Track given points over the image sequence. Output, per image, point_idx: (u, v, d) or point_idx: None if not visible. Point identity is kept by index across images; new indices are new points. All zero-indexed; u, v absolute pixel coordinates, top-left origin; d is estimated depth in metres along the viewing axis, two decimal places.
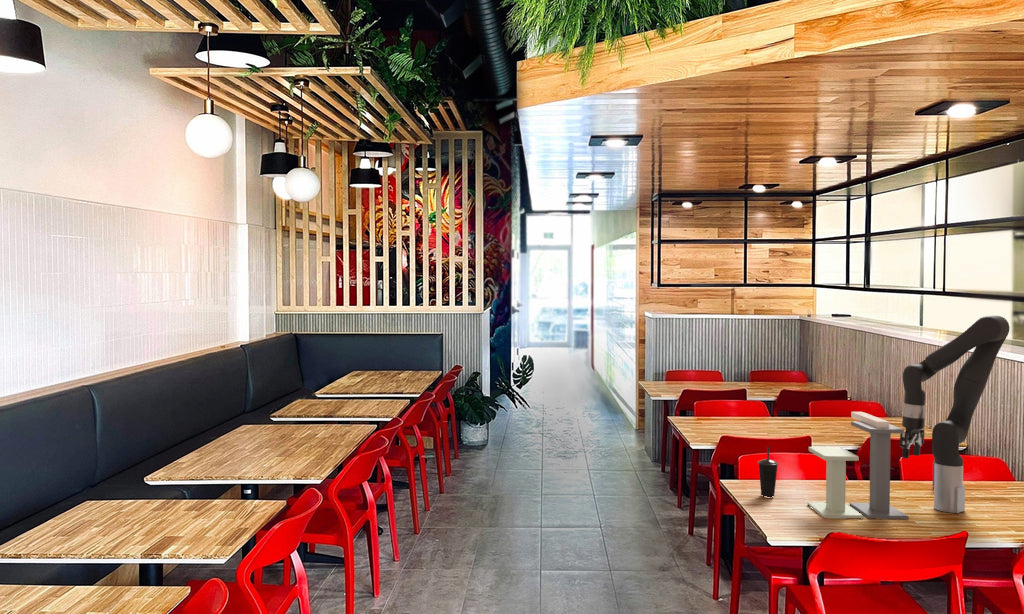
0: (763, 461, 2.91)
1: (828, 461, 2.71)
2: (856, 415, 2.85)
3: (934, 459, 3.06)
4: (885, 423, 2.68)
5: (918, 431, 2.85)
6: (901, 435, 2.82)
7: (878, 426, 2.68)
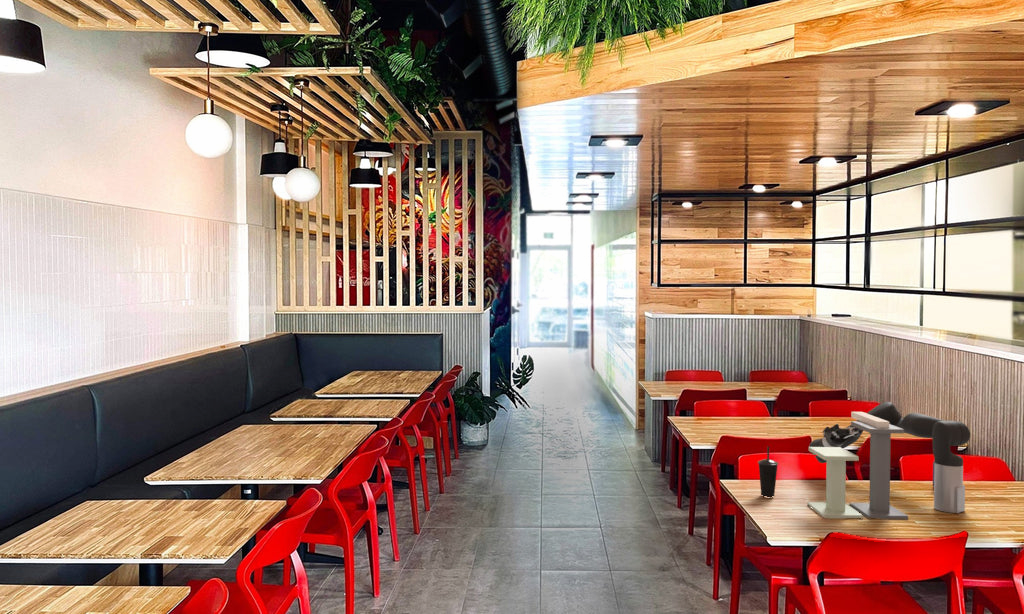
0: (763, 461, 2.91)
1: (828, 461, 2.71)
2: (856, 415, 2.85)
3: (934, 459, 3.06)
4: (885, 423, 2.68)
5: None
6: (824, 434, 3.05)
7: (878, 426, 2.68)
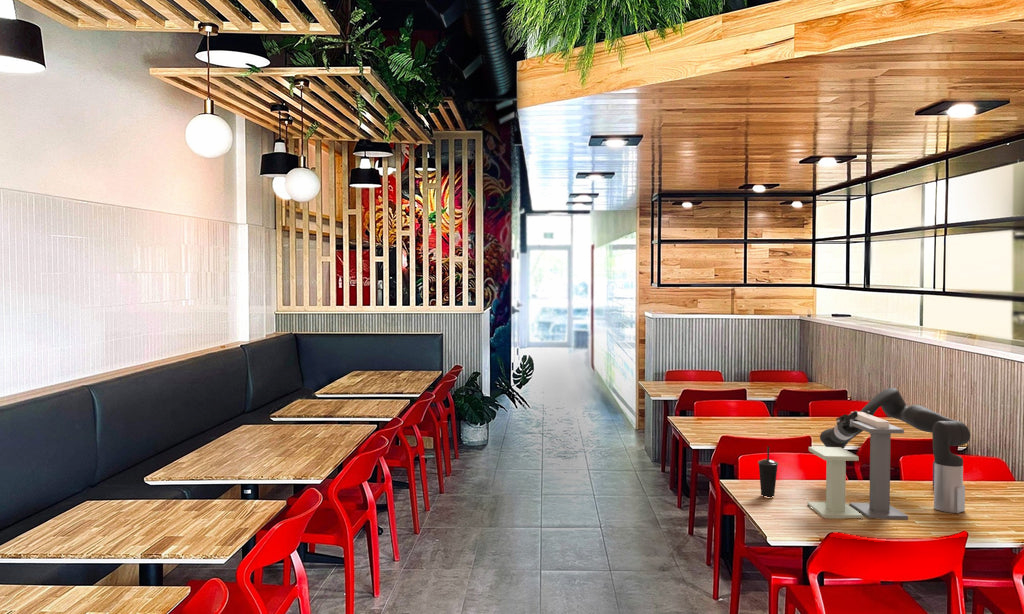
0: (763, 461, 2.91)
1: (828, 461, 2.71)
2: None
3: (934, 459, 3.06)
4: (885, 423, 2.68)
5: None
6: (838, 422, 2.92)
7: (878, 426, 2.68)
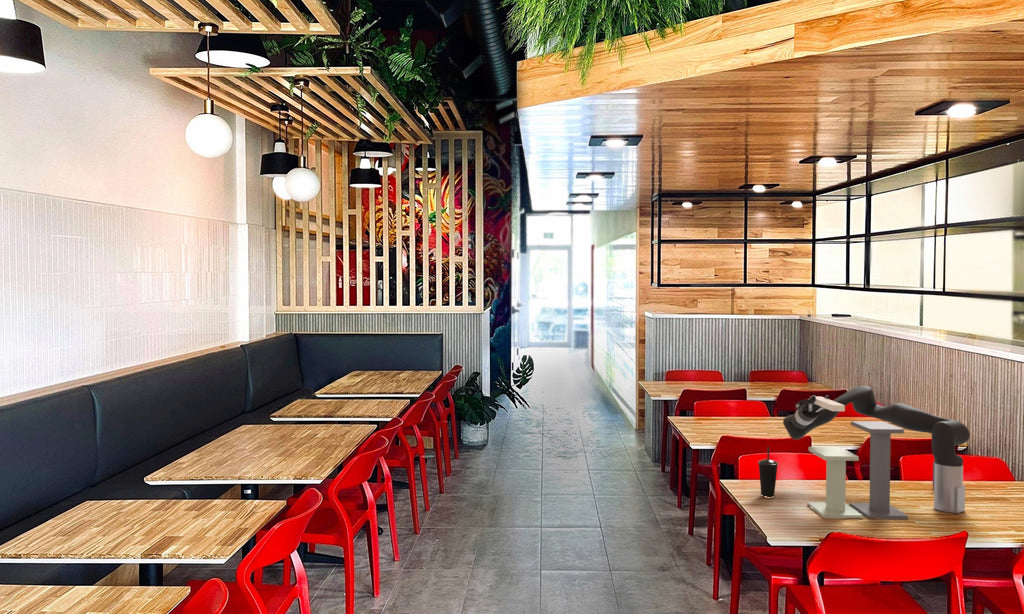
0: (763, 461, 2.91)
1: (828, 461, 2.71)
2: None
3: (934, 459, 3.06)
4: (840, 407, 2.68)
5: None
6: (797, 407, 2.92)
7: (833, 410, 2.68)
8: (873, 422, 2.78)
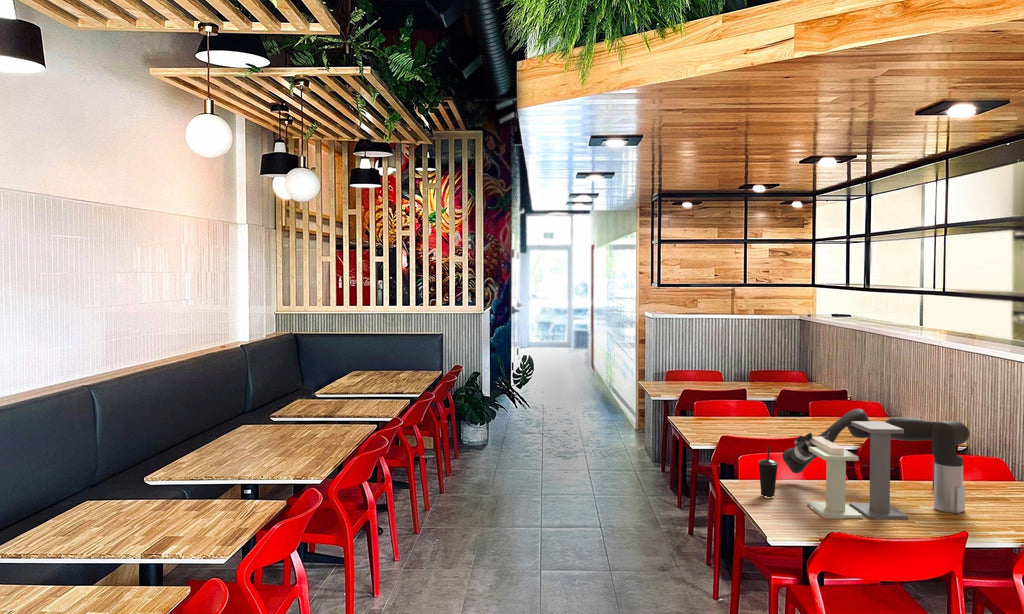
0: (763, 461, 2.91)
1: (828, 461, 2.71)
2: (814, 440, 2.86)
3: (934, 459, 3.06)
4: (840, 450, 2.69)
5: None
6: (796, 444, 2.93)
7: (833, 453, 2.69)
8: (873, 422, 2.78)
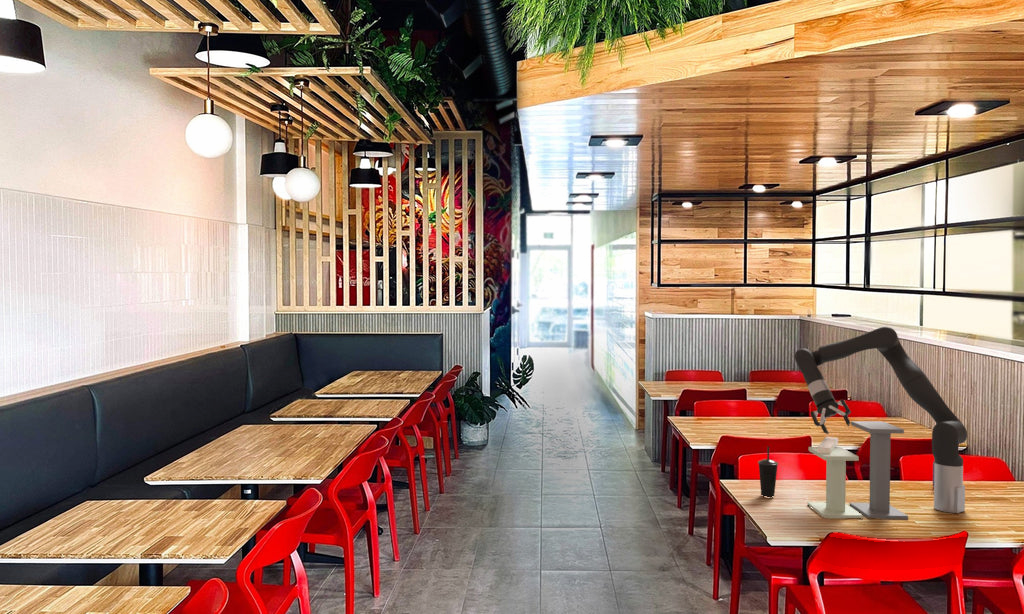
0: (763, 461, 2.91)
1: (828, 461, 2.71)
2: None
3: (934, 459, 3.06)
4: (826, 449, 2.70)
5: (832, 404, 2.94)
6: None
7: (818, 451, 2.71)
8: (873, 422, 2.78)
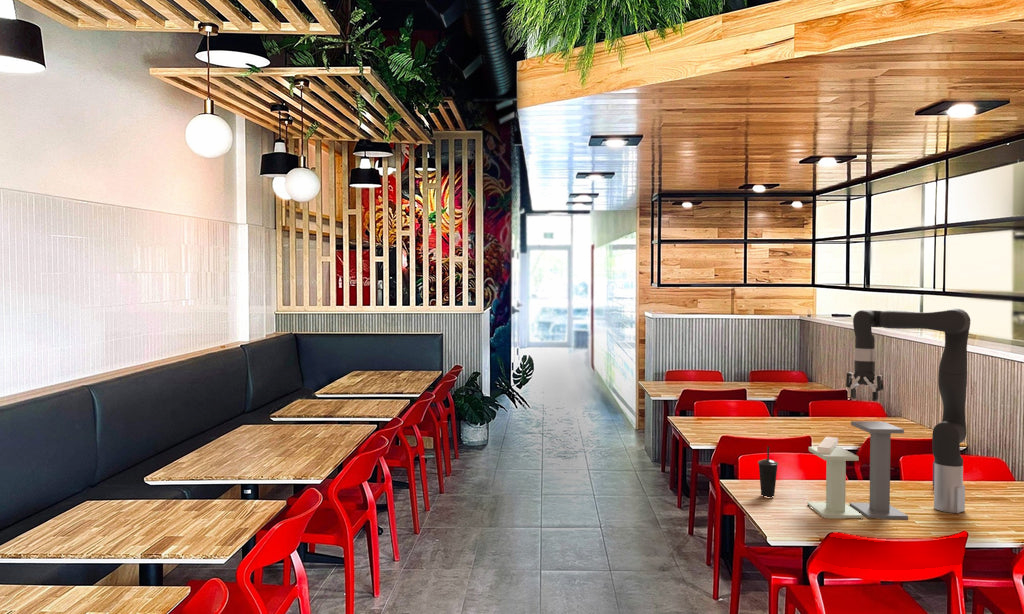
0: (763, 461, 2.91)
1: (828, 461, 2.71)
2: None
3: (934, 459, 3.06)
4: (826, 449, 2.70)
5: (868, 375, 2.93)
6: None
7: (818, 451, 2.71)
8: (873, 422, 2.78)
